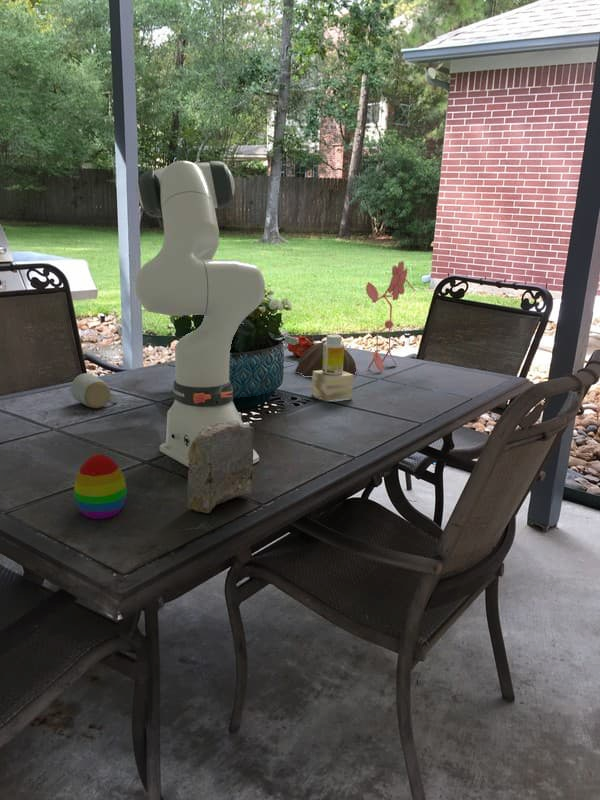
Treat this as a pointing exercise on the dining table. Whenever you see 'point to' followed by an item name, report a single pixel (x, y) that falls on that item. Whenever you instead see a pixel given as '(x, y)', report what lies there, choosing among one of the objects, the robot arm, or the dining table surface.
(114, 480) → the decorative egg
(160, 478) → the dining table surface
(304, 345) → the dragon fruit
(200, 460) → the geological specimen
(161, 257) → the robot arm
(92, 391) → the ceramic mug
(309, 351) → the decorative dome
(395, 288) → the figurine
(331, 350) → the supplement bottle
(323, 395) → the beech block
